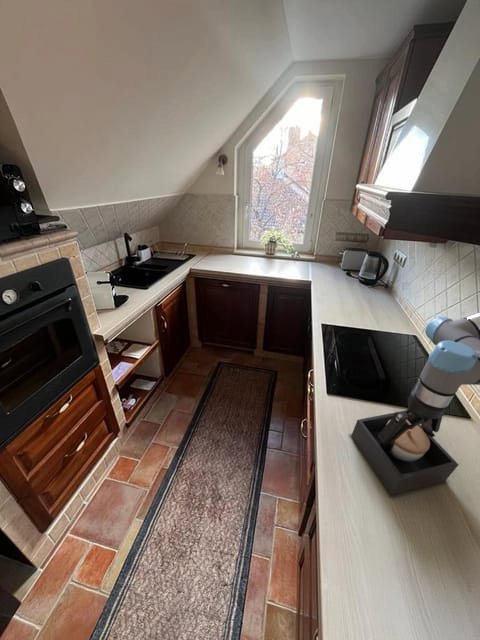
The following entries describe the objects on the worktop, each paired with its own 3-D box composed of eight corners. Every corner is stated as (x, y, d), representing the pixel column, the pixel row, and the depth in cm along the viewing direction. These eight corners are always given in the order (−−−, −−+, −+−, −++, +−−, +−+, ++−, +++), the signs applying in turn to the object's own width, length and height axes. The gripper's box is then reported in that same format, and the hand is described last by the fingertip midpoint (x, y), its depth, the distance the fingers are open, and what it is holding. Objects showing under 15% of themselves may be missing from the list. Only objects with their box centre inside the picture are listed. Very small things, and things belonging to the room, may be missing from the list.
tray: (397, 425, 86) (406, 410, 82) (445, 480, 71) (458, 464, 67) (351, 435, 82) (357, 419, 78) (390, 495, 67) (401, 479, 63)
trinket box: (374, 430, 80) (384, 411, 76) (411, 438, 79) (423, 418, 74) (383, 463, 71) (394, 443, 67) (425, 472, 70) (440, 452, 65)
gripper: (452, 380, 69) (421, 431, 80) (379, 393, 64) (356, 445, 76) (480, 401, 63) (442, 453, 74) (401, 417, 58) (373, 470, 69)
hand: (398, 449), depth 75 cm, fingers closed on trinket box, 11 cm apart
